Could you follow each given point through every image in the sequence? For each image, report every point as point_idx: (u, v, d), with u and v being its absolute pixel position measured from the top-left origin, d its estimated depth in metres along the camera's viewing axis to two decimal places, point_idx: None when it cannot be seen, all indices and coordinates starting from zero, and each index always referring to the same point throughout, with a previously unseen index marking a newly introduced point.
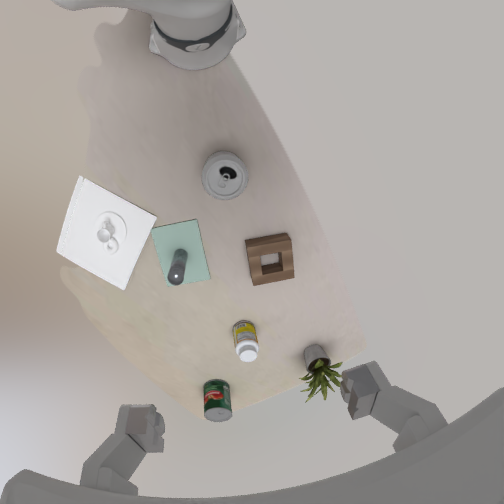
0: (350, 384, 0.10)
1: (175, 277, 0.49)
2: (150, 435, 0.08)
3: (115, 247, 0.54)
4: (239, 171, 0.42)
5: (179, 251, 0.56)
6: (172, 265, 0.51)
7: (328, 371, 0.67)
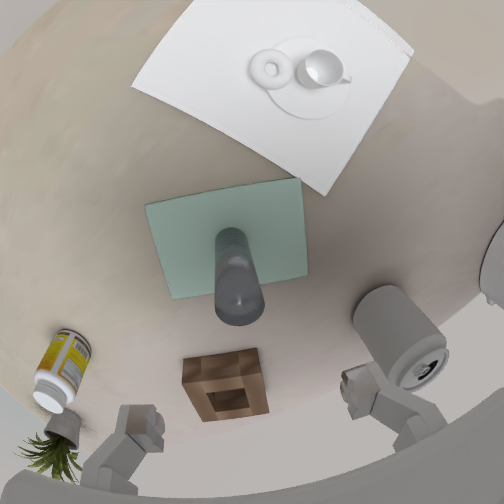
0: (350, 384, 0.10)
1: (242, 306, 0.17)
2: (150, 435, 0.08)
3: (271, 83, 0.19)
4: (422, 381, 0.23)
5: None
6: (255, 273, 0.19)
7: None
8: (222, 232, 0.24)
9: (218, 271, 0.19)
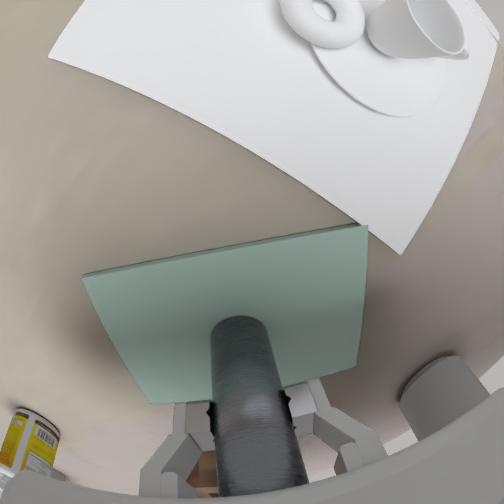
0: (289, 401, 0.10)
1: None
2: (212, 432, 0.09)
3: (327, 33, 0.07)
4: None
5: (272, 352, 0.13)
6: (298, 455, 0.07)
7: None
8: (223, 327, 0.13)
9: (223, 455, 0.07)
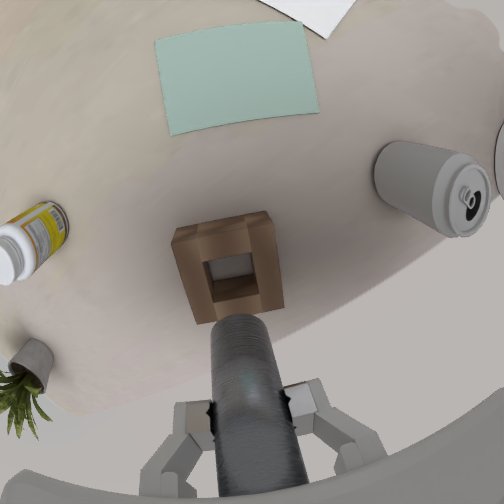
0: (289, 401, 0.10)
1: None
2: (212, 432, 0.09)
3: None
4: (471, 225, 0.18)
5: (272, 351, 0.13)
6: (298, 452, 0.07)
7: None
8: (224, 325, 0.13)
9: (222, 452, 0.07)
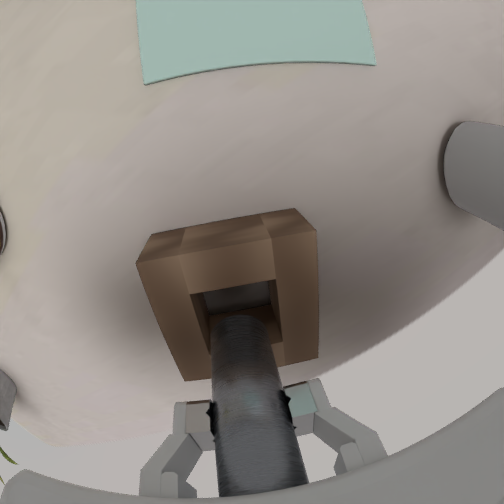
0: (289, 401, 0.10)
1: None
2: (212, 432, 0.09)
3: None
4: None
5: (272, 351, 0.13)
6: (298, 453, 0.07)
7: None
8: (224, 326, 0.13)
9: (223, 453, 0.07)
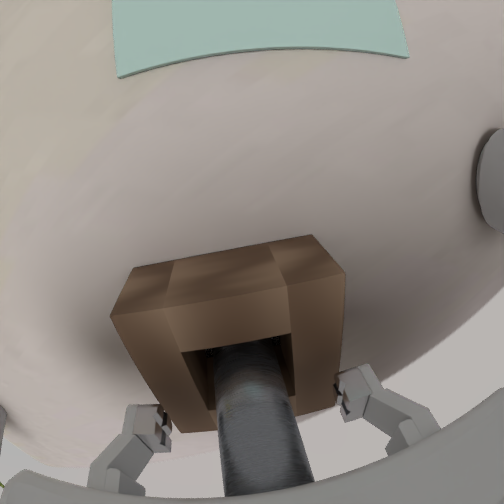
0: (342, 387, 0.10)
1: None
2: (158, 435, 0.08)
3: None
4: None
5: None
6: (295, 427, 0.08)
7: None
8: None
9: (225, 427, 0.08)
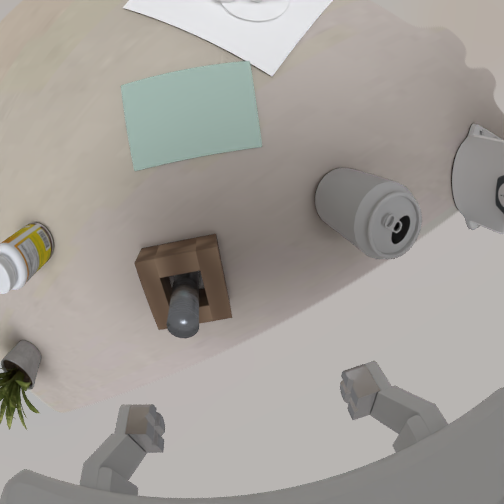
0: (350, 384, 0.10)
1: (184, 325, 0.24)
2: (150, 435, 0.08)
3: None
4: (398, 248, 0.23)
5: None
6: (196, 302, 0.27)
7: (17, 395, 0.27)
8: None
9: (171, 300, 0.26)
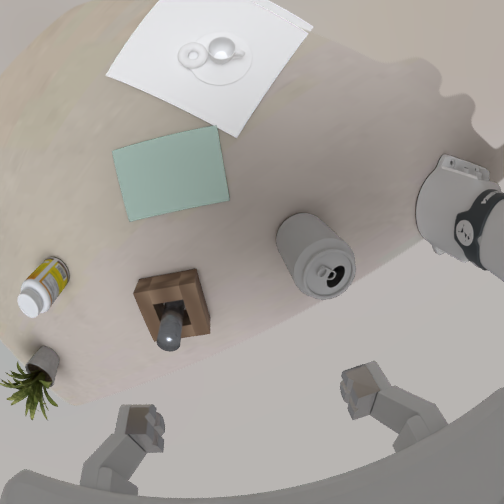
0: (350, 384, 0.10)
1: (169, 342, 0.32)
2: (150, 435, 0.08)
3: (190, 64, 0.27)
4: (334, 290, 0.31)
5: None
6: (179, 325, 0.35)
7: None
8: None
9: (160, 323, 0.35)
